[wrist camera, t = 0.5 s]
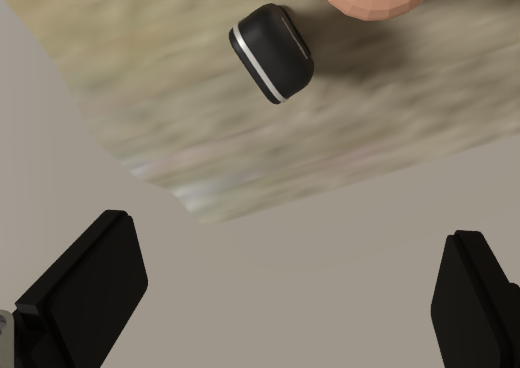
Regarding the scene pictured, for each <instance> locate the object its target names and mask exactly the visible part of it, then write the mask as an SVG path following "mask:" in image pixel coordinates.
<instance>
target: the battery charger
mask: <svg viewBox="0 0 520 368" xmlns="http://www.w3.org/2000/svg"><path fill="white" fill-rule="evenodd" d="M229 40H230V43H231V45H232V47H233V49H234V51H235V52H236V54H237V55H238V57H239V58H240V60H241V61H242V63H243V64H244V66H245V67H246V69H247V70H248V72H249V73H250V75H251V76H252V78H253V79H254V80H255V82H256V83H257V85H258V86H259V88H260V89H261V91H262V92H263V93H264V95H265V96H266V97H267V99H268V100H269V101H270V102H272V103H273V104H279V103H281V102H285V101H287V100H288V99H289V98H290V97H291V96H292V95H294V94H295V93H297V92H299V91H300V90H302V89H303V88H304V87H305V86H307V85H308V83H309V82H310V80H311V78H312V75H313V72H314V62H313V60H312V58H311V54H310V51H309V49H308V47H307V45H306V44H305V42H304V40H303V39H302V37H301V35H300V34H299V32H298V31H297V29H296V27H295V26H294V24H293V22H292V21H291V19H290V17H289V16H288V14H287V13H286V11H285V10H284V9H283V8H282V7H281V6H278V5H276V4H273V3H270V4H266V5H263V6H261V7H260V8H258V9H257V10H255V11H254V12H252V13H251V14H250V15H249V16H247V17H246V18H244V19H242V20H240V21H239V22H238V23H236V24H235V25H234V27H233V28H232V29H231V30H230V32H229Z"/></svg>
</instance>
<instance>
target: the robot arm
mask: <svg viewBox="0 0 520 368" xmlns="http://www.w3.org/2000/svg"><path fill="white" fill-rule="evenodd" d="M147 286H148V278H147V274H146V270H145V266H144V262H143V258H142V254H141V250H140V246H139V242H138V239H137V234H136V230H135V226H134V222H133V219H132V217H131V216H129V215H128V214H127V212H125V211H121V210H106V211H104V212H103V213H102V214H101V215H100V216H99V217H98V218H97V219H96V220H95V221H94V222H93V223H92V224H91V225H90V226H89V227H88V229H87V230H86V231H85V232H84V233H83V234H82V235H81V236H80V237H79V238H78V239H77V240H76V241H75V242H74V243H73V244H72V245H71V246H70V247H69V248H68V249H67V250H66V251H65V252H64V253H63V254H62V255H61V256H60V258H58V259H57V260H56V261H55V262H54V263H53V264H52V265H51V267H49V268H48V270H47V271H46V272H45V273H44V274H43V275H42V276H41V277H40V278H39V279H38V280H37V281H36V282H35V283H34V284H33V285H32V286H31V287H30V288H29V289H28V290H27V291H26V292H25V293H24V294H23V295H22V296H21V297H20V298H19V299H18V300H17V301H16V302H15V305H16V307H17V309H16V310H15V311H14V312H13V313H12V314H11V313H10V312H8V311H5V310H0V368H100V367H101V365H102V364H103V362H104V360H105V359H106V357H107V355H108V353H109V352H110V350H111V349H112V347H113V345H114V343H115V342H116V340H117V339H118V337H119V335H120V334H121V332H122V330H123V329H124V327H125V325H126V323H127V322H128V320H129V318H130V317H131V315H132V313H133V312H134V310H135V308H136V307H137V305H138V303H139V302H140V300H141V298H142V297H143V295H144V293H145V292H146V290H147ZM431 318H432V322H433V326H434V330H435V333H436V337H437V340H438V344H439V348H440V352H441V355H442V359H443V362H444V366H445V368H520V287H519V286H518V285H517V284H515V283H509V281H508V279H507V277H506V275H505V274H504V272H503V270H502V268H501V267H500V265H499V263H498V261H497V259H496V258H495V256H494V254H493V252H492V250H491V249H490V247H489V245H488V244H487V241H486V240H485V238H484V236H483V234H482V233H481V232H479V231H464V230H457V231H456V232H455V233H454V235H448V236H447V239H446V243H445V248H444V252H443V256H442V260H441V265H440V269H439V273H438V278H437V283H436V286H435V291H434V295H433V300H432V304H431Z"/></svg>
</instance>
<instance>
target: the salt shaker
mask: <svg viewBox="0 0 520 368" xmlns="http://www.w3.org/2000/svg"><path fill="white" fill-rule="evenodd" d="M328 1H329V3H331V4H332V5H333V6H335V7H336V8H337V9H339V10H340V11H341V12H343V13H344V14H345V15H348V16H351V17H354V18H358V19H361V20H364V21H374V20H388V19H391V18H393V17H396V16H399V15H402V14H404V13H407V12H409V11H410V10H412V9H413V8H414V7H416V6H417V5H419V4H420V3H421V2H423V1H424V0H328Z"/></svg>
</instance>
